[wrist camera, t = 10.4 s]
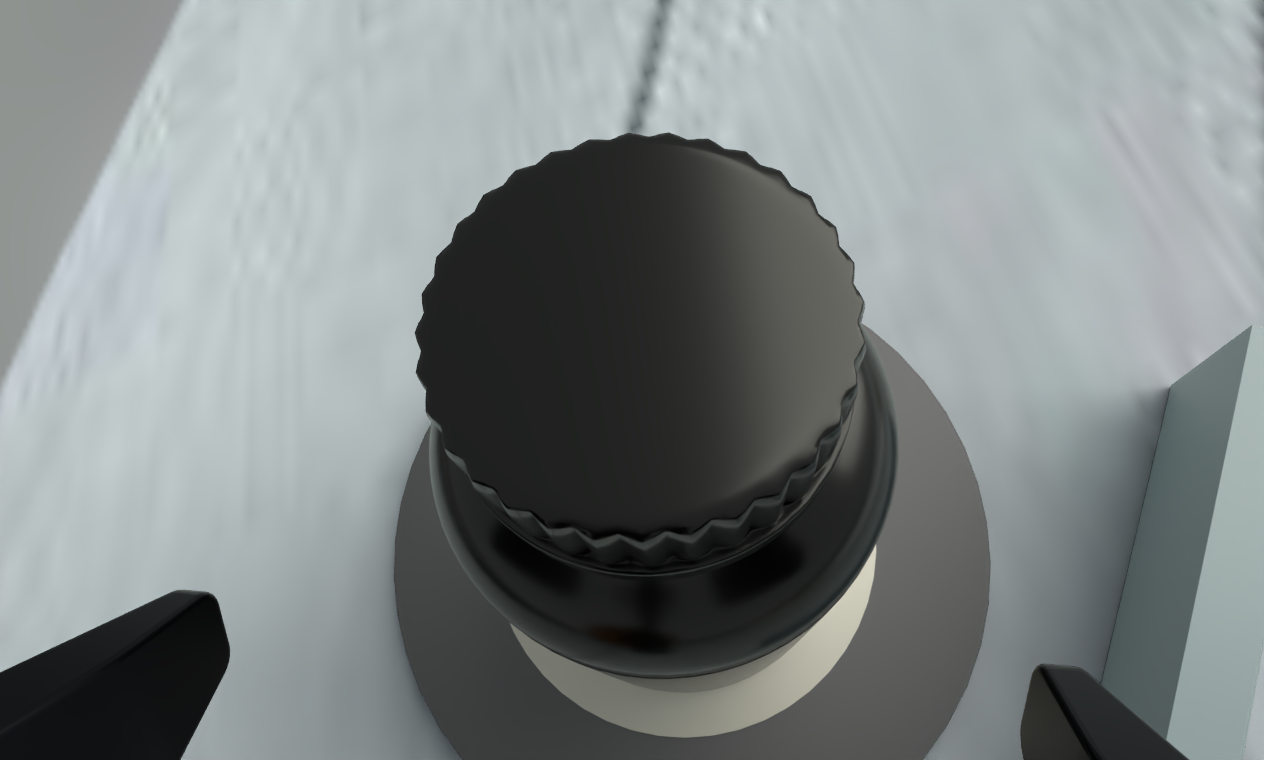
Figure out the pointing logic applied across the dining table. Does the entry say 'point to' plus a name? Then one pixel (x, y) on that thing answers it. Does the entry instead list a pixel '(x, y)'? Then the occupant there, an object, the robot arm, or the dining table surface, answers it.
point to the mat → (762, 704)
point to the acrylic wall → (1199, 563)
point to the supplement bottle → (655, 410)
